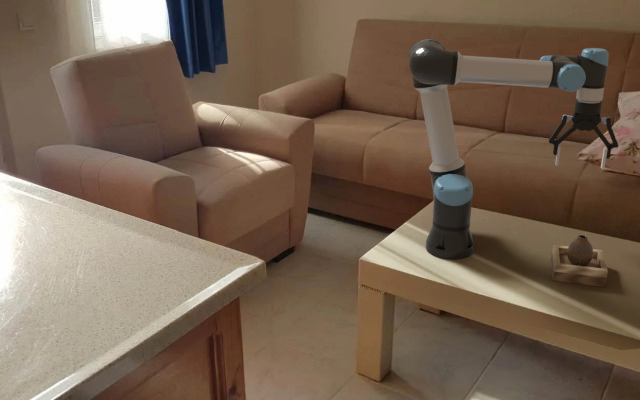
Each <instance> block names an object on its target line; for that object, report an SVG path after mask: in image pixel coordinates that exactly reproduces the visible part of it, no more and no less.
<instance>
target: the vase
mask: <svg viewBox="0 0 640 400" xmlns="http://www.w3.org/2000/svg"><path fill="white" fill-rule="evenodd" d="M593 249H594V247H593V245H592V243H591V242H590V241H589V239H588V237H587V236H586V235H583V234H579V235H578V236H577V237H576V238H575V239H574V240H572V241H571V242H570V244H569V245H568V251H567V256H568V259H569V261H570V262H571V263H572V264H573V265H577V266H586V265H587V264H589V263H590V261H591V260H592V257H593Z"/></svg>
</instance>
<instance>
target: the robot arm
mask: <svg viewBox="0 0 640 400" xmlns="http://www.w3.org/2000/svg"><path fill="white" fill-rule="evenodd" d="M609 55H610V54H609V51H608V50H607V49H605V48H601V47H599V48H597V47H589V48H588V47H587V48H584V49H582V51H581V54H579V55H553V54H551V55H543V56H541V57H540V59H524V58H523V59H521V58H506V57H493V56H492V57H491V56H476V55H463V54H461V52H459V51H455V50H449V49H448V50H447V49H446V47H445V46H444V45H443V44H442V43H441V42H440V41H437V40H434V39H422V40H421V41H419V42H417V43H415V44H414V45H413V46H412V47H411V49H410V51H409V54H408V70H409V72H410V74H411V80H412V83H413V88H414V89H415V90H417V91H418V92H419V96H420V101H421V106H422V113H423V117H424V123H425V129H426V133H427V134H426V135H427V138H428V139H427V140H428V144H429V145H428V146H429V149H430V155H431V160H432V161H431V164H430V165H429V167H428V171H429V174H430V175H429V176H430V181H431V187H432V197H433V209H432V224H431V227H430V230H429V233H428V235H427V237H426V241H425V250H426V251H427V252H428V253H429V254H431V255H433V256H434V257H436V258H437V257H438V258H440V259H447V260H449V259H450V260H457V259H460V260H461V259H464V258H468V257H470V256H471V255H473V254H474V250H475V249H474V248H475V243H474V239H473V235H472V231H471V217H472V216H471V215H472V205H473V204H472V203H473V195H474V189H473V188H474V187H473V182H472V181H471V180H470V179H469V177H468V176H467V171H466V164H465V161H464V160H463V159H462V158H461V157H459V155H460V154H459V151H458V145H457V138H456V132H455V127H454V120H453V115H452V109H451V108H452V107H451V103H450V96H449V90H448V86H456V85H457V84H458V83H467V84H468V83H470V84H471V83H472V84H483V85H484V84H485V85H499V86H500V85H503V86H517V87H518V86H519V87H532V88H546V89H559V90H562V91H563V92H564V91H565V92H569V93H572V92H576V94H575V95H576V97H575V99H576V100H575V102H574V104H575V105H574V108H573V109H574V111H573V114H572V115H567V114H566V113H564V114H563V115H562V118H561V121H560V122H559V124H558V125H557V126H556V128H555V130H554V131H553V132H552V133H551V135H550V136H549V138H548V143H549V144H551V145H553V150H552V154H553V156H555V164H554V165H555V166H556V167H558V166H559V162H560V155H561V147H562V146H561V143H563V142H564V141H565V139H567V138H568V137H569V136H570V135H572V133H574V132H576V131H577V130H578V131H581V132H582V131H587V132H591V131H594V133H596V136H598V138H599V139H600V140H601V141H602V143H603V144H604V145H605V146H604V147H603V150H602V158H601V161H600V162H601V163H600V168H601V170H605V166H606V161H607V160H609V159H610V158H611V153H612V149H615V148H616V149H617V148H618V147H619V142H618V141H617V137H616V135H615V133H614V131H613V127H612V125H611V124H612V119H611V117H610V116H609V115H607V116H605V117H604V116H603V117H601V111H602V107H603V106H602V105H603V103H602V101H603V99H604V91H605V84H606V78H607V73H608V72H607V71H608V67H609ZM570 121H572V125H570V126H569V127H568V128H567V129H566V130H565V131H564V132H563V133H562V134H561V135H559V134H560V133H561V131H562V130H563V128H564V126H565V125H566V123H569V122H570ZM601 122H602V123H603V125H605V126H606V129H607V131H608V135H609V137H610V139H611V143H610V142H609V140H608V139H607V137H606V136H605V135H604V133H603V132H602V131H601V130H600V128H599V127H598V125H599V124H600V123H601ZM557 136H559V137H557Z"/></svg>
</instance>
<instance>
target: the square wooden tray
mask: <svg viewBox="0 0 640 400" xmlns="http://www.w3.org/2000/svg"><path fill="white" fill-rule="evenodd" d="M568 247H569V245H567V246H566V245H559V244H553V245H552V249H551V257H550V262H551V265H550V266H551V275H552V281H553V282H554V281H555V282H561V283H569V284H577V285H585V286H595V287H602V288H606V285H607V278H608V272H609V271H608V270H609V269H608V266H607V263H606V258H605V254H604V251H603V249H594V248H593V257H592V260H591V261H590V263H589V264H587V265H586V266H577V265H573V264H572V263H571V262H570V261H569V259H568V256H567V251H568Z"/></svg>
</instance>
